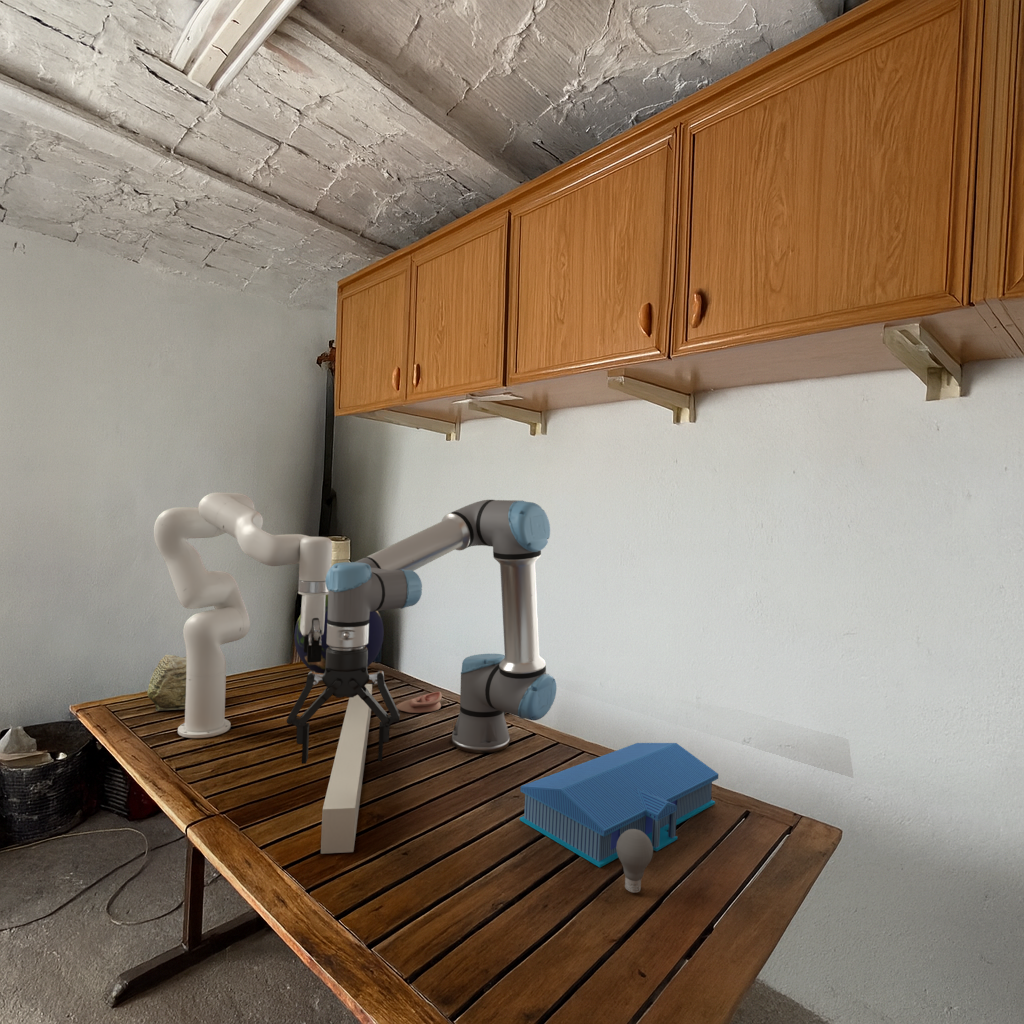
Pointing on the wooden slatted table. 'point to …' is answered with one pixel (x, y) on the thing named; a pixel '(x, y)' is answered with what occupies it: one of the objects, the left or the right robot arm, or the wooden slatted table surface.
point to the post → (346, 780)
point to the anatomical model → (421, 703)
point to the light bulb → (634, 857)
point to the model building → (619, 799)
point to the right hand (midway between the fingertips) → (342, 759)
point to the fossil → (169, 683)
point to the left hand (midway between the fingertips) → (312, 656)
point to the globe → (319, 667)
